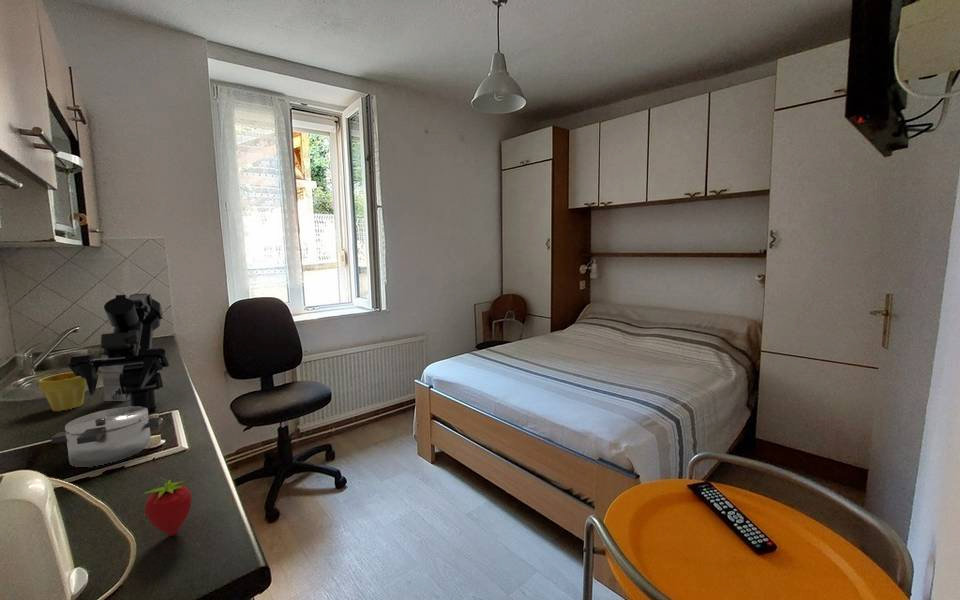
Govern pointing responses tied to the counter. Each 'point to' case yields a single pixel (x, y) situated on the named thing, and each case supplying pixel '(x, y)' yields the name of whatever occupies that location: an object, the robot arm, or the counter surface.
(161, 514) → the strawberry
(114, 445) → the cooker pot
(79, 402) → the plant pot
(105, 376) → the coffee box
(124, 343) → the robot arm
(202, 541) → the counter surface
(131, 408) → the cooker lid
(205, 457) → the counter surface
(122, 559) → the counter surface
